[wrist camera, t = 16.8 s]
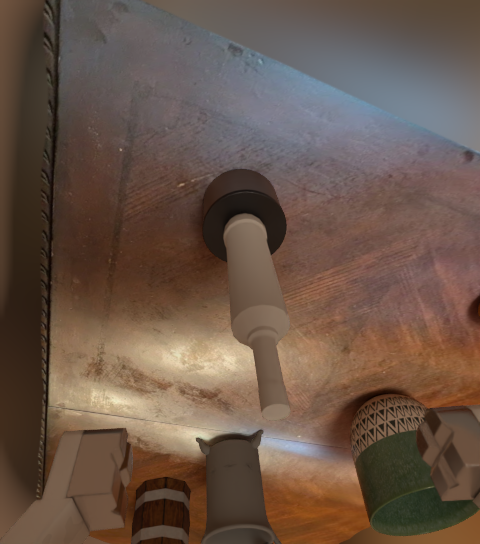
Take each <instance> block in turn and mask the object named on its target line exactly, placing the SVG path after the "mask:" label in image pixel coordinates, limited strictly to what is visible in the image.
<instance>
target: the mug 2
mask: <svg viewBox="0 0 480 544" xmlns="http://www.w3.org/2000/svg"><path fill="white" fill-rule="evenodd" d="M261 434H263V430H260V431H258V433H257V434H256V436H255V438H254V439H253V440H251V442H249V441H245V440H240V439H231V440H225V441H221V442H219V443H216V444H214V445H213V446H211V447H210V446H209V445H207V444H205V443H204V441H203V440H202V439H200V438H197V439H196V441H197V442H198V443H199V446H200V449H201V451H202V452H203V453H204V454H205V455H206V484H207V523H206V531H205V534H204V537H203V539H202V541H201V544H273V541H274V543H275V544H281V542H280V541H279V539H278V538H277V537H276V535H275V533H274V532H273V530H272V528H271V526H270V524H269V522H268V519H267V516H266V510H265V503H264V495H263V487H262V479H261V471H260V463H259V455H258V449H257V448H258V446H259V445H260V442H261Z"/></svg>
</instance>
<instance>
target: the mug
mask: <svg viewBox="0 0 480 544" xmlns="http://www.w3.org/2000/svg"><path fill="white" fill-rule="evenodd" d="M190 492H191V491H190V489H189V487H188V486H187V484H186V482H185V481H181V480H176V479H172V478H168V477H165V478H159V479H154V480H148V481H145V482H144V483H143V484H142V485H141V486H140V487H139V488H138V489H137V490H136V507H135V513H134V518H133V523H132V540H131V544H188V538H189V527H190V518H189V499H190Z"/></svg>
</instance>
